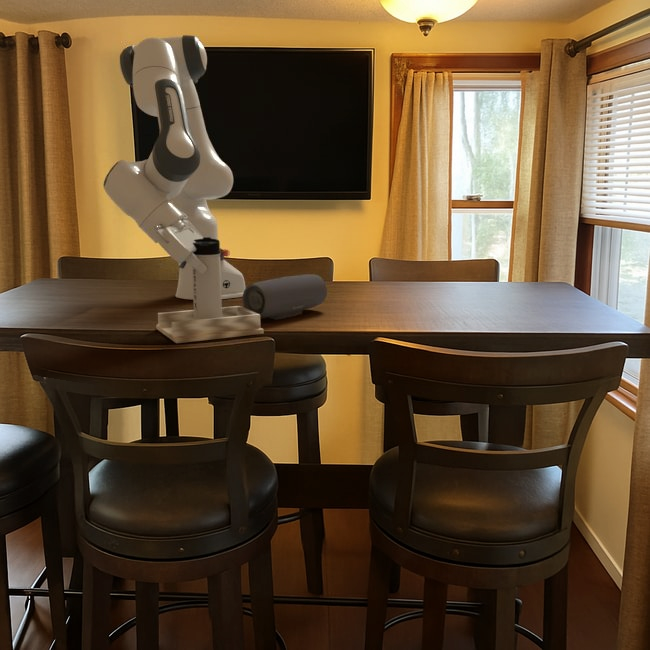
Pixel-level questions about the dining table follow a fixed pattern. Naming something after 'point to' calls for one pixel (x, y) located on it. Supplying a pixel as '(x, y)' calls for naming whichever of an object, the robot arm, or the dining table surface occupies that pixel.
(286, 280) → the bluetooth speaker
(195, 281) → the travel mug
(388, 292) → the dining table surface
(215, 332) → the tray
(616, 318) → the dining table surface
